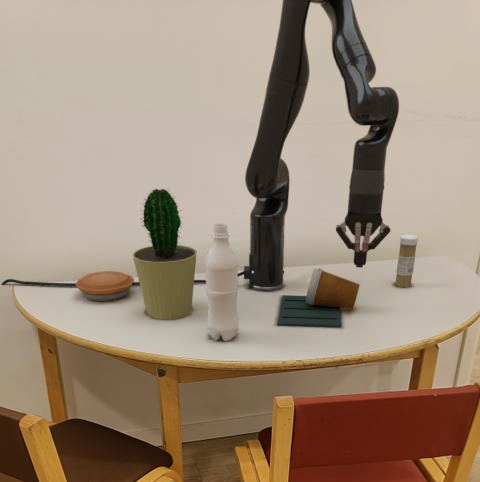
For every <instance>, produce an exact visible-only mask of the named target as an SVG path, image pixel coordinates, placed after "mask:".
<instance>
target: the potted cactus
mask: <svg viewBox="0 0 480 482" xmlns="http://www.w3.org/2000/svg"><path fill="white" fill-rule="evenodd" d="M172 195H173V192H171V190H170V188H167V189H164V188H159V189H158V188H154V189H150V191H149V193H148V194H146V197H147V198H146V197H143V199H144V200H142V201H143V202H141V205H143V209H141V211H143V213H141V216H142V215H143V217H141V219H140V221H142V222H140V224H142V225H141V228H145V230H146V231H147V235H148V238H150V239H149V240H148V241H149V243H150V245H149V246H146V247H141V248H139V249H137V250H135V251H133V253H132V257H133V262H134V266H135V267H134V268H135V270H136V271H135V272H136V275H137V279H138V282H139V283H140V285H139V286H140V291H141V294H142V295H141V296H142V298H143V303H144V306H145V311H146V314H147V316H149V317H151V318H154V319H156V320H157V319H158V320H176V319H180V318H184V317H187V316H188V315H189V314H191V312H192V309H193V308H192V307H193V297H194V285H195V283H194V280H195V274H196V265H197V264H196V263H197V254H198V251H197V249H195V248H193V247H192V246H187V245H183V244H181V243H180V242H179V241H178V240H179V239H180V238H181V236H180V235H179V230H180V227H181V228H183V223H182V219H183V217H181V216H180V213H179V212H181V211H182V209H180V210H179V209H178V207H179V205H178V203H177V202H176V201H175V197H174V196H172ZM148 241H147V242H148Z"/></svg>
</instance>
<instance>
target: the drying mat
mask: <svg viewBox="0 0 480 482" xmlns="http://www.w3.org/2000/svg"><path fill="white" fill-rule="evenodd" d="M306 296H307V295H293V294H292V295H287V294H286V295H285V294H282V296H281V301H280V307H279V314H278V319H277V326H285V327H313V328H339V329H340V328H342V321H341V318H342V317H341V308H337V307H329V306H320V305H311V306H310V305H309V304H307V303H305V302H306Z"/></svg>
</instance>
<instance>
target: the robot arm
mask: <svg viewBox="0 0 480 482" xmlns="http://www.w3.org/2000/svg"><path fill="white" fill-rule="evenodd" d="M311 4H315V5H320V7H321V8H322V9H323V11H324V13H325V14H326V16H327V18H328V20H329V22H330V23H329V24H330V27H331V40H330V43H331V45H330V46H331V54H332V58H333V60H334V63H335V65H336V67H337V70H338V72H339V74H340V77H341V79H342V81H343V85H344V93H345V100H346V106H347V112H348V114H349V117H350V118H351V120H352V121H353V122H354V124H357V125H358V126H361V127H368V131H367V133H366V135H364V136H362V137H360V138H359V139H357V140H356V141H355V142H354V146H353V153H352V166H351V167H352V168H351V172H350V179H349V185H348V189H349V191H348V202H347V213H346V215H345V217H344V221H342V222H341V223H340V224H337V225H336V226H335V232H336V233H337V234H338V236H339V238H340V239H341V240H342V242H343V243H344V245H345V246H346V247H347V249H348V250H353V252H354V253H353V265H354V266H356V268H363V267H364V266H366V264H367V258H368V257H367V256H368V252H369V251H371V250H375V249H377V247H378V246H379V245H380V244H381V243H382V241H383V240H384V239H385V238H386V237H388V235H389V234H390V233H391V228H390V225H387V224H386V223H384V222H383V220H384V219H383V217H382V210H383V209H382V208H383V200H384V192H385V191H384V190H385V180H386V179H385V172H386V169H385V168H386V160H387V149H388V146H389V143H390V140H391V138H392V134H393V132H394V129H395V127H396V126H395V125H396V122H397V121H398V117H399V112H400V99H399V96H398V93H397V91H396V90H395V89H394V88H393V87H390V86H373V87H371V85H370V83H371V82H372V81H373V80H374V78H375V76H376V74H377V65H376V63H375V60H374V57H373V55H372V53H371V51H370V49H369V46H368V44H367V43H366V40H365V37H364V35H363V32H362V30H361V28H360V25H359V22H358V18H357V16H356V11H355V8H354V4H353V0H282V4H281V5H282V6H281V13H280V20H279V27H278V31H277V32H278V34H277V38H276V43H275V48H274V53H273V57H272V63H271V66H270V70H269V75H268V79H267V84H266V89H265V95H264V100H263V103H262V108H261V114H260V117H259V123H258V129H257V133H256V137H255V141H254V144H253V147H252V151H251V154H250V157H249V160H248V164H247V166H246V170H245V176H244V181H245V182H244V183H245V187H246V189H247V191H248V193H249V194H250V195H251V196H252V197H254V198H255V204H254V206H253V208H252V209H251V211H250V214H249V255H248V265H244V267H243V271H240V272H238V278H239V277H241V276H243V280H248V288H249V289H251V290H253V289H254V290H256V291H263V292H266V291H267V292H268V291H270V292H271V291H277V290H280V289H282V288H283V287H284V275H285V270H284V261H285V260H284V259H285V227H286V226H285V224H286V222H285V221H286V215H287V212H288V208H289V197H290V171H289V166H288V165H287V163H286V161H285V160H284V159H282V158H281V157H282V153H283V149H284V145H285V142H286V140H287V138H288V136H289V133H290V131H292V128H293V126H294V124H295V123H296V121H297V119H298V116H299V114H300V112H301V110H302V107H303V104H304V101H305V98H306V94H307V89H308V85H309V81H310V77H311V76H310V75H311V69H310V67H311V66H310V58H309V53H308V47H307V43H306V41H307V40H306V26H307V19H308V15H309V9H310V5H311ZM347 228H348V230H349V231H350V233H351V235H352V236H354V238H353V239H354V241H353V242H352V240H351V239H350V237H349V236H348V234H347ZM377 230H378V233H377V234H376V235H375V237H374V238H373V239H371V236H373V235H374V234H375V233H376V231H377ZM361 237H362V242H361ZM370 239H371V241H370ZM8 283H15V284H20V285H29V286H30V285H31V286H49V287H51V286H52V287H53V286H54V287H76V286H75V285H76V282H74V283H73V282H71V283H70V282H43V281H27V280H24V281H23V280H18V279H13V278H7V279H5V280H3V282H2V283H1V284H0V285H1V286H5V285H6V284H8ZM194 284H206V279H194ZM131 286H140V283H139V281H134V282H133V284H132V285H131Z"/></svg>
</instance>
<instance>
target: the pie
mask: <svg viewBox="0 0 480 482" xmlns="http://www.w3.org/2000/svg"><path fill="white" fill-rule="evenodd" d="M133 282H135V278H134V277H133V276H131V275H129V274H126V273H123V272H121V271H113V270H108V271H107V270H106V271H105V270H104V271H97V272H92V273H88V274H86V275H84V276H82V277H81V278H79V279H77V281H76V282H75V283H76V285H75V286H74V287H76V288H77V289H78V290H79V292H81V293H82V294H83V296H84V297H85V298H86V299H88V300H90V301H93V302H111V301H116V300H119V299H122V298H124V297H125V296H127V294H128V293H129V291H130V288H131V287H132V286H133V285H132V284H133Z"/></svg>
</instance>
